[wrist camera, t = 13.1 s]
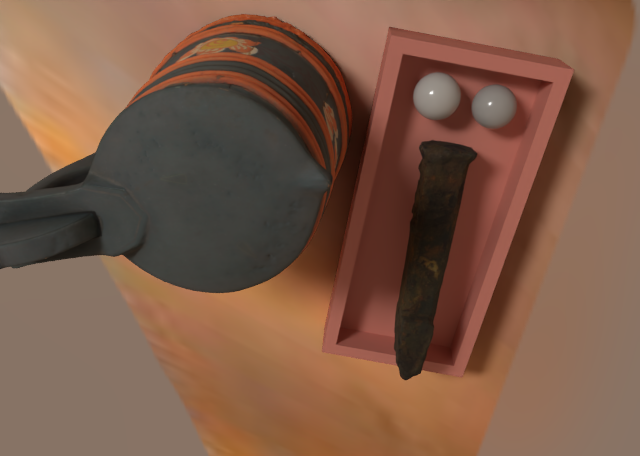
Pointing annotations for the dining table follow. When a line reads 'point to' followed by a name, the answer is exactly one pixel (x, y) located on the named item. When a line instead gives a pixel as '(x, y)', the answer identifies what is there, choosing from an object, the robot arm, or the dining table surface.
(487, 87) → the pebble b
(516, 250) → the dining table surface
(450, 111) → the light grey ball
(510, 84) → the pink tray
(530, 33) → the dining table surface
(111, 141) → the beer stein
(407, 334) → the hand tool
